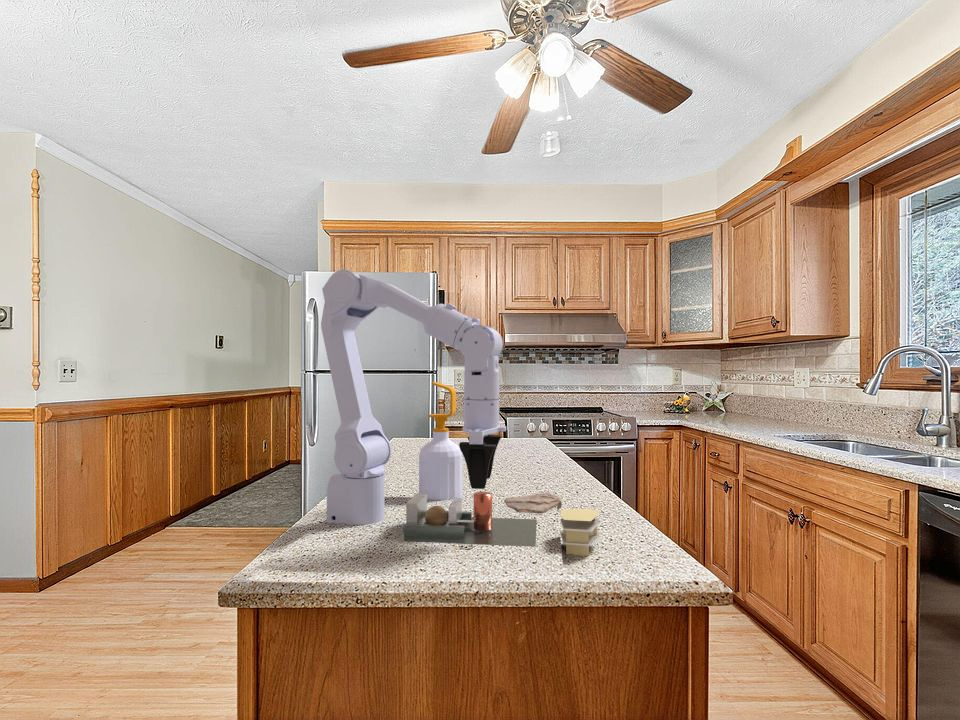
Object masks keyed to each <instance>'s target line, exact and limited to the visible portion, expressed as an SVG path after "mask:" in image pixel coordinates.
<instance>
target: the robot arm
mask: <svg viewBox="0 0 960 720" xmlns="http://www.w3.org/2000/svg"><path fill="white" fill-rule="evenodd" d="M323 285H324V286H323V287H322V288H321V289H322V294H323V295H322V296H323V300H324V303H323V304H324V305H323V310H322V316H321V321H320V326H321V327H320V329H321V333H322V338H323V341H324V348H325V352H326V356H327V357H326V358H327V362H328V366H329V370H330V375H331V380H332V385H333V389H334V395H335V398H336V404H337V407H338V413H339V418H340V421H341V423H340V425H339V427H338V429H337V430H336V432H335V433H334V440H335V450H334V455H333V459H334V463H335V466H336V468H337V470H338V471H339V472H340V473H334V474H333V475H331V477H330V478H329V480H328V483H327V487H326V523H328V524H345V525H354V526H364V525H365V526H367V525H373V524H377V523H381V522H382V521H384V520H385V478H386V477H385V472H386V464H387V463H388V462H389V460H390V458H391V456H392V446H391V442H390V441H389V439H388V437H386V435H385V433H384V431H383V426H382V425H381V423H380V422H379V421H378V420H377V419H376V418H375V417H374V416H373V412H372V407H371V403H370V398H369V394H368V390H367V385H366V381H365V376H364V369H363V367H362V363H361V357H360V353H359V347H358V344H357V339H356V334H355V330H356V329H357V328H358V327H359V326H360V324H361V322H362V321H364V320H365V319H366V318H367V317H369V316H370V315H372V313H374V312H375V311H376V310H377V309H378V308H384V309H385V308H387V307H389V308H391V309H393V310H395V311H397V312H399V313H401V314H403V315H405V316H408V317H409V318H412V319H413V320H416V321H418V322H420V323H422V325H423V329H424V332H425V334H427V335H428V336H430V337H432V338H434V339H436V340H437V341H440V342H441V343H443V344H444V345H446V346H449V347H450V348H453V349H455V350H456V351H460V353H461V354H462V356H463V357H464V372H463V385H464V387H463V388H464V389H463V426H462V432H463V433H465V434H466V435H468V436H467V439H468V441H461V442H460V443H459V445H458V446H459V447H460V450H461V452H462V457H463V458H464V461H465V464H466V467H467V468H466V469H467V474H468V479H469V484H470V485H469V486H470V487H471V490H475V489H476V490H485V489H486V485H487V480H490V478H491V475H492V471H493V466H494V460H495V455H496V450H497V447H498V445H499V443H500V441H501V439H502V435H501V434H497V433H499V432H507V426H506V425H500V370H499V367H500V366H499V364H500V363H499V361H500V360H499V359H500V357H499V356H500V354H501V353H502V351H503V347H504V340H503V337H502V335H501V334H500V333H499V331H497V330H496V329H495V328H494V327H493V326H490V325H481V324H480V322H481V319H480V318H477V317H475V316H473V317H472V318H471V317H470V316H468V315H465V314H464V313H461V312H459V311H457V306H455V305H453V304H452V303H448V302H447V304H444V303H438V304H435V305H433V306H431V305H429V304H428V303H425V302H424V301H422V300H420V299H418V298H417V297H415V296H413V295H411V294H409V293H408V292H405V291H404V290H402V289H401V288H399V287H397V286H396V285H394V284H391V283H387V282H385V281H382V280H379V279H375V278H372V277H370V276H367V275H362V274H358V273H355V272H353V271H352V270H349V269H339V270H336V271H335V272H333V273H332V274H331V276H330V277H329V278H328V280H327V281H326V283H325V284H323Z"/></svg>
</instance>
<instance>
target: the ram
mask: <svg viewBox="0 0 960 720" xmlns="http://www.w3.org/2000/svg"><path fill="white" fill-rule="evenodd" d="M462 503H463V497H462V498H454V499H452V500H451V503H450V504H449V506H448V511H449V525H460V526H465V528H468V529H475V530H479V531H487V530H491V529H492V518H493V493H492V492H490V491H476V492H474V493H473V517H474V520H460V518H461V517H462V512H463V504H462Z"/></svg>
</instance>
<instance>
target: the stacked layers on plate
mask: <svg viewBox="0 0 960 720" xmlns="http://www.w3.org/2000/svg"><path fill="white" fill-rule="evenodd" d="M560 514H561V516H562V518H561V519H560V524H561V526H562V531H561V532H560V537H561V540H562V547H564V546H565V548H566V549H565V550H566V552H565V554H573V555H572V556H582V557H589V556H590V547H592V546H593V544H595V543H596V542H597V541H598V539H600V532H598V526H599V525H600V519H597V516H599V515H600V511H599V510H595V509H591V508H567V509H566V508H565V509H561V510H560Z"/></svg>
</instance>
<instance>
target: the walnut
mask: <svg viewBox="0 0 960 720" xmlns="http://www.w3.org/2000/svg"><path fill="white" fill-rule="evenodd" d="M446 511H447V510H446V509H445V508H443V506H440V505H433V506H430V507H429V508H427V512H426V514H425V520H426V523H427V524H431V525H444V524H445V523H446V521H447V513H446Z"/></svg>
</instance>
